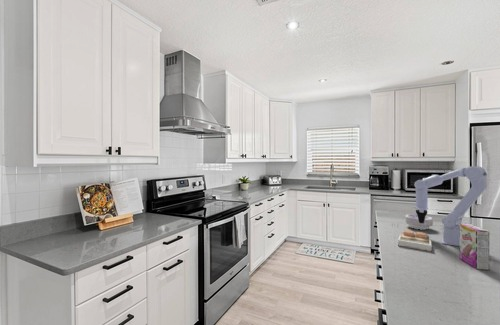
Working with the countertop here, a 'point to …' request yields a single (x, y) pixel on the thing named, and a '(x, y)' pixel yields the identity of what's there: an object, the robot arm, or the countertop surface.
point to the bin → (414, 244)
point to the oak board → (415, 238)
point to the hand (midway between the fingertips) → (421, 222)
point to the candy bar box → (474, 246)
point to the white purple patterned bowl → (414, 222)
